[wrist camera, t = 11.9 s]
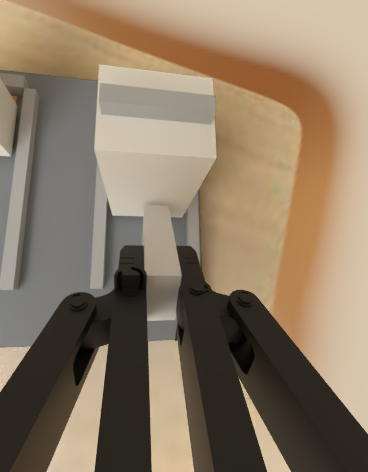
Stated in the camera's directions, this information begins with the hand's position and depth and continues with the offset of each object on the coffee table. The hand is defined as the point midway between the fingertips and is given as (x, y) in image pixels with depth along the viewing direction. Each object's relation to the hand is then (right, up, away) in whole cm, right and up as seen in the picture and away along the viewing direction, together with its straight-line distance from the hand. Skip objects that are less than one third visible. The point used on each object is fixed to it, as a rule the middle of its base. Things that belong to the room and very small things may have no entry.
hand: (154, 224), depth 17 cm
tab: (-1, +3, +3) cm, 4 cm away
